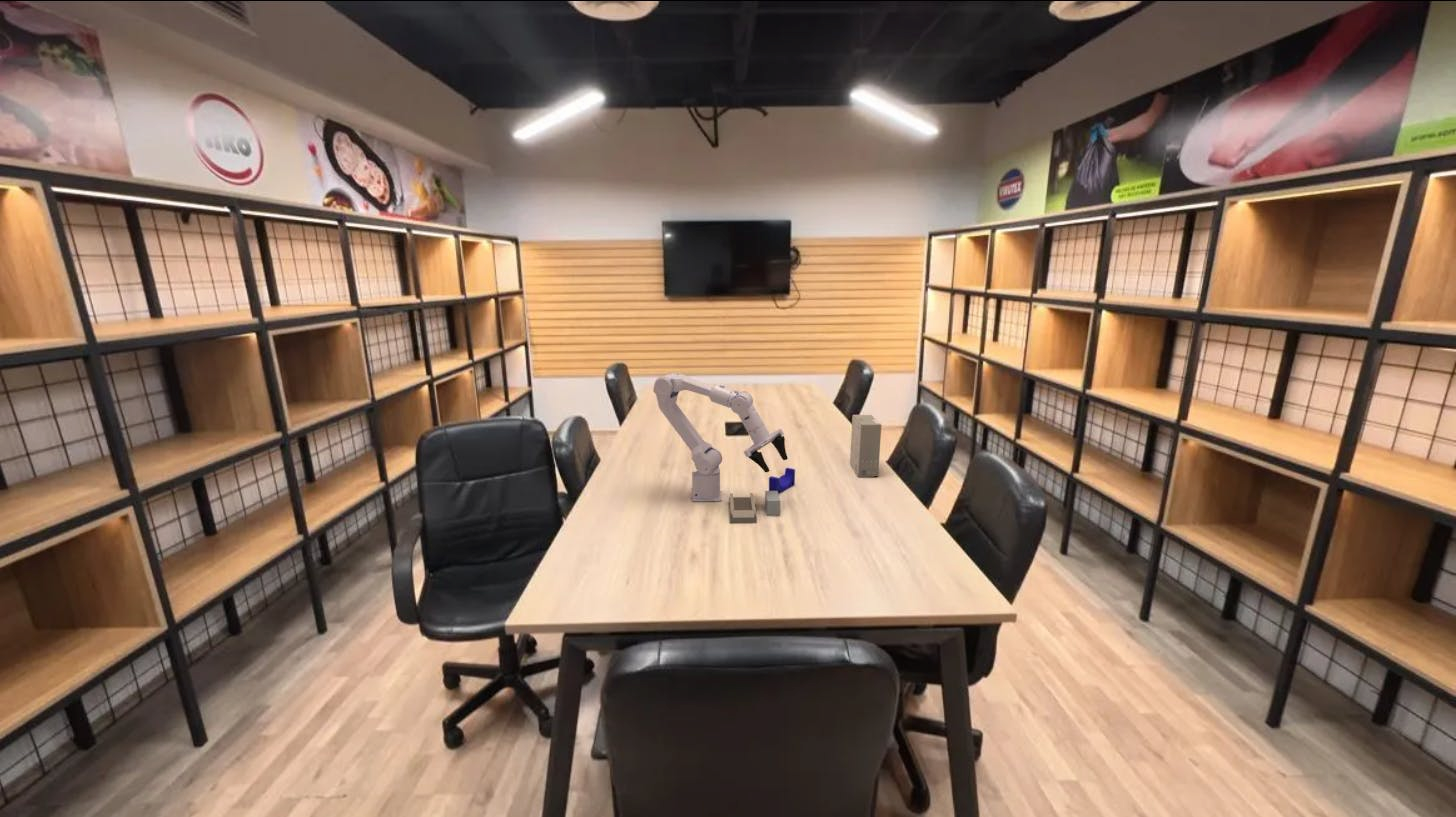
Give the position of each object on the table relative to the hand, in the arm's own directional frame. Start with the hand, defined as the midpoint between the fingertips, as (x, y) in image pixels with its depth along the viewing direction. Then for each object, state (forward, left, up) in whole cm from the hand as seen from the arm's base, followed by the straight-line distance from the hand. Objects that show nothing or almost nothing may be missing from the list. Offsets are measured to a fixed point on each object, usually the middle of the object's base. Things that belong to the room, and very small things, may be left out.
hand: (776, 465), depth 175 cm
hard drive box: (+36, +32, -14) cm, 50 cm away
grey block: (-1, -3, -14) cm, 14 cm away
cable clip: (+3, +14, -14) cm, 20 cm away
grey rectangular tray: (-11, -4, -14) cm, 18 cm away
